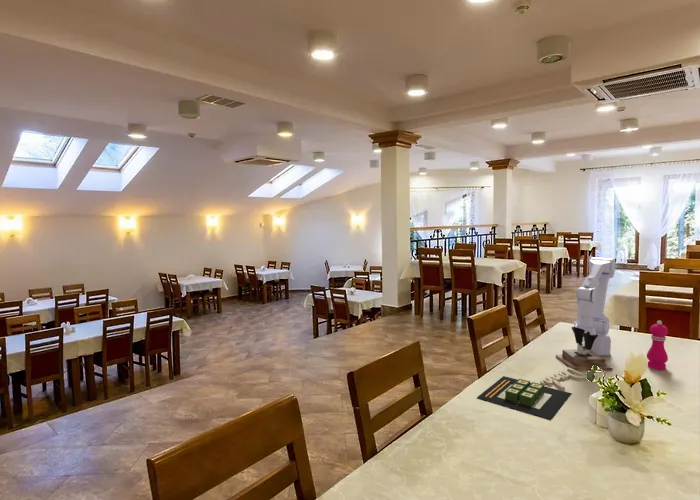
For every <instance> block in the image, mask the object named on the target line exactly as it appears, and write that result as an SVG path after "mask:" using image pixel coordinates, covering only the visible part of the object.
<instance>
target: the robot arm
mask: <svg viewBox="0 0 700 500" xmlns="http://www.w3.org/2000/svg"><path fill="white" fill-rule="evenodd" d="M588 269H589V275H588V276H586V277H585V278H584V281H582V284H581V286H580V287H577V289H576V292H575V293H576V294H575V299H576V305H577V316H576V317H577V320H573V326H571V330H572V332H573V335H574V338H575V343H576V344H577V345H578V344H583V341H584V344H585V349H586V350H591V351H593V352H595V353H596V354H598V355H599V356H611V355H612V354H611V348H612V347H611V346H612V341H611V340H612V339H611V337H610V335H609V331H610V319H609V317H608V316H607V315H606V314H604V313H605V312H604V311H605V306H606V305H605V304H606V298H607V290H608V284H609V281H610V279H612V278H614V275H615V271H616V260H615V259H614V258H613V257H612V258H609V257H594V256H591V257H590V258H589V259H588ZM595 319H598V320H595ZM584 332H585V333H584Z"/></svg>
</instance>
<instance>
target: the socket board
mask: <svg viewBox="0 0 700 500" xmlns="http://www.w3.org/2000/svg"><path fill="white" fill-rule="evenodd" d="M555 358H556V359H558V360H559V361H560V362H562V363H563V364H564V365H566V366H567V367H569V368H572V369H574V370H576V371H590V370H589V369H591V368H592V366H593V365H596V366H598V367H599V368H600V369H602V370H601V371H613V367H612V366H610V365H609V364H608V363H606V358H604V357H602V355H598V354H596V353H595V352H593V351H591V350H588V356H587V357H580V356H578V355H577V349H562V353H561V354H555Z"/></svg>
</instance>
